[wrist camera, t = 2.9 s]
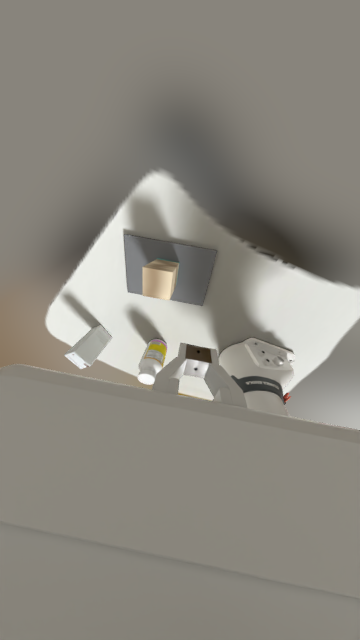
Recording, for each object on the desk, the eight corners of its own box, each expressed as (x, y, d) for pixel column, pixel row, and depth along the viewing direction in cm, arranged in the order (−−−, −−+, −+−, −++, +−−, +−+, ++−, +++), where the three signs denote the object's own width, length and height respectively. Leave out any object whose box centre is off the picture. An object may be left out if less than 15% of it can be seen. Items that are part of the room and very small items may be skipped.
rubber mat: (216, 250, 29) (217, 250, 28) (202, 304, 36) (202, 305, 35) (126, 234, 29) (124, 234, 29) (129, 290, 36) (127, 292, 36)
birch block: (179, 262, 30) (172, 272, 22) (176, 283, 33) (169, 300, 25) (157, 258, 30) (142, 267, 22) (156, 280, 33) (142, 295, 25)
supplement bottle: (158, 355, 49) (147, 389, 38) (144, 343, 46) (128, 376, 35) (171, 347, 46) (163, 381, 35) (158, 334, 43) (145, 367, 33)
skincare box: (92, 328, 45) (61, 355, 35) (101, 323, 44) (72, 350, 33) (104, 341, 48) (79, 370, 38) (114, 337, 46) (90, 366, 36)
